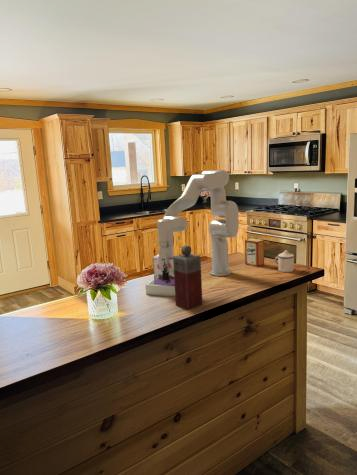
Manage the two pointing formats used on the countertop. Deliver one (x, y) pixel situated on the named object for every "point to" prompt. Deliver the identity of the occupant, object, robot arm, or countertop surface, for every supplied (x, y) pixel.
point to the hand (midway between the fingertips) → (168, 277)
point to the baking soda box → (254, 252)
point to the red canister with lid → (187, 279)
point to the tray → (159, 289)
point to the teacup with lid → (285, 262)
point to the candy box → (158, 272)
